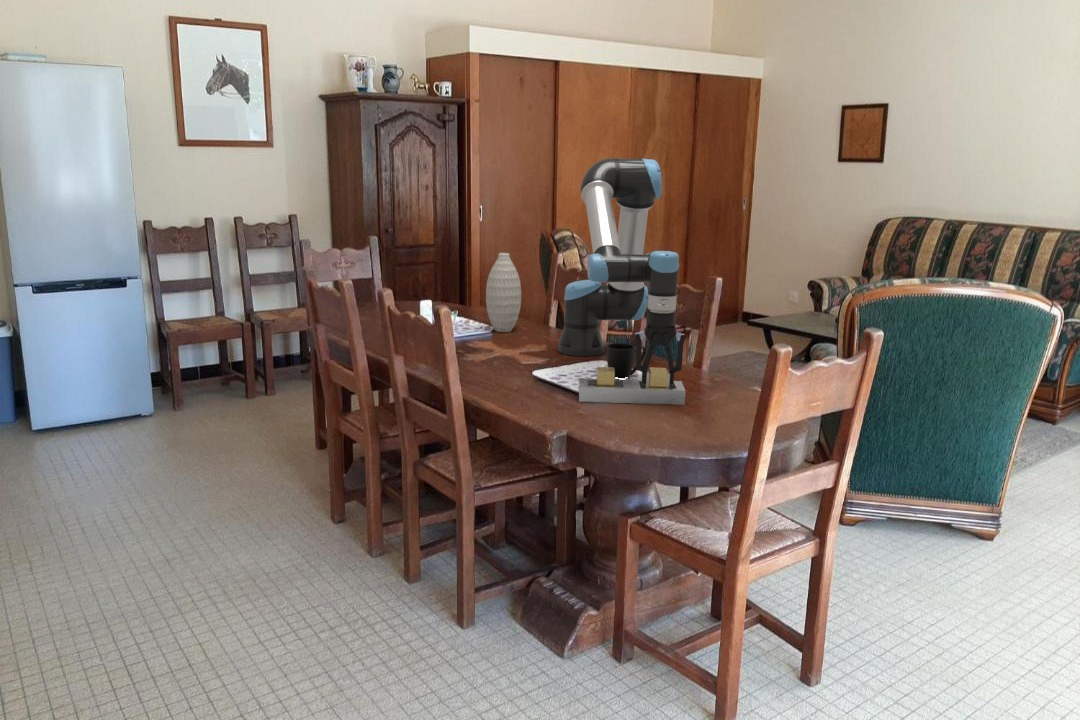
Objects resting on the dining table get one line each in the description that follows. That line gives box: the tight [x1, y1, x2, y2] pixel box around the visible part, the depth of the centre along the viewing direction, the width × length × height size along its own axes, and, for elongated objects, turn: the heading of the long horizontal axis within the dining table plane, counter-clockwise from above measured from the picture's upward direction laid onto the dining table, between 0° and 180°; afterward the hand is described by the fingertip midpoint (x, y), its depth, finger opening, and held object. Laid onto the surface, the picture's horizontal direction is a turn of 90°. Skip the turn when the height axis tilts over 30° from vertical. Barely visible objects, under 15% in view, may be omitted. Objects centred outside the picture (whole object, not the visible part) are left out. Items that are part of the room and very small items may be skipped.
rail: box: [578, 377, 687, 406], centre depth 232 cm, size 9×28×4 cm, turn 88°
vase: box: [485, 252, 522, 333], centre depth 310 cm, size 13×13×28 cm
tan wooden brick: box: [596, 366, 615, 387], centre depth 232 cm, size 4×4×8 cm
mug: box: [606, 342, 647, 378], centre depth 253 cm, size 8×12×10 cm
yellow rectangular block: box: [648, 366, 668, 389], centre depth 231 cm, size 4×4×8 cm
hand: (656, 394), depth 232 cm, fingers open, 5 cm apart
